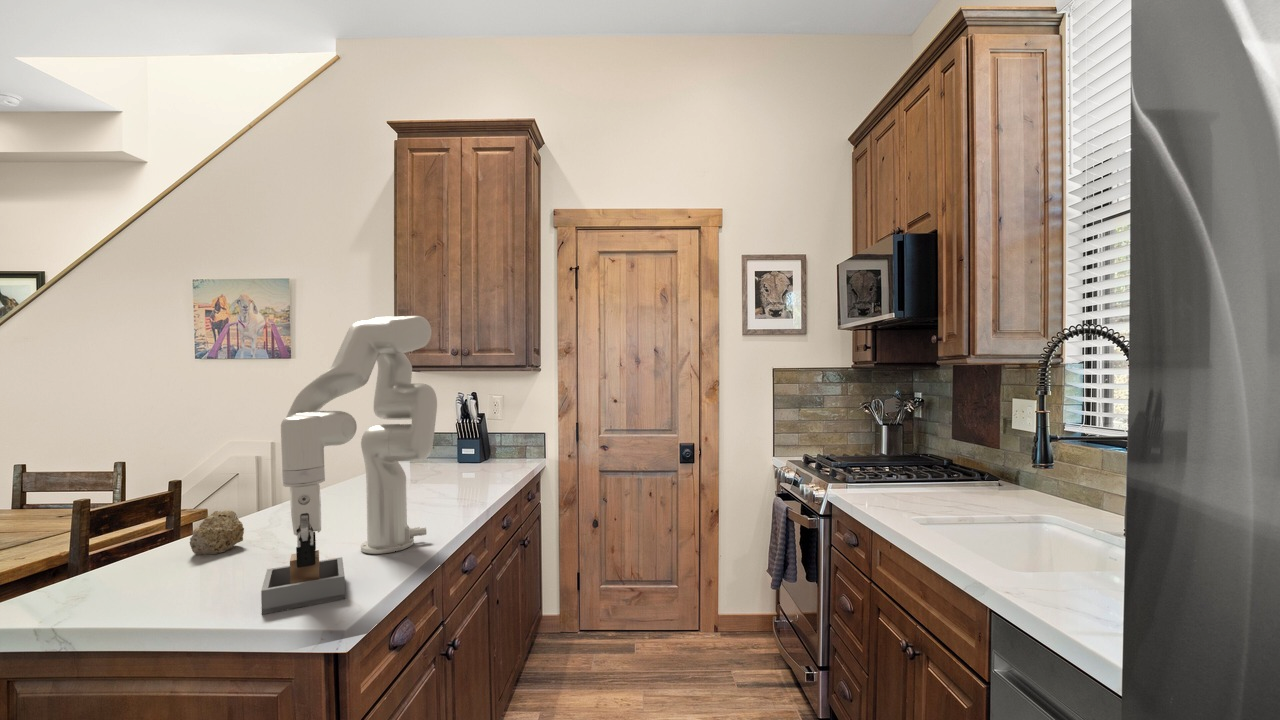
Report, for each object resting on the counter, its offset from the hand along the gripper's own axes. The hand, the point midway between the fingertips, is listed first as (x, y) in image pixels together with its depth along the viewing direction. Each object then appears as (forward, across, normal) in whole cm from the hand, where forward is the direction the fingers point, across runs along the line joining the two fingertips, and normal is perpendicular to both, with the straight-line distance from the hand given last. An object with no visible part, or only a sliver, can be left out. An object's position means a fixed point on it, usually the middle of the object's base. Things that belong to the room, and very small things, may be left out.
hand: (306, 558), depth 119 cm
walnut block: (+6, -1, 0) cm, 6 cm away
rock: (+8, +47, +22) cm, 53 cm away
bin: (+7, -1, 0) cm, 7 cm away
